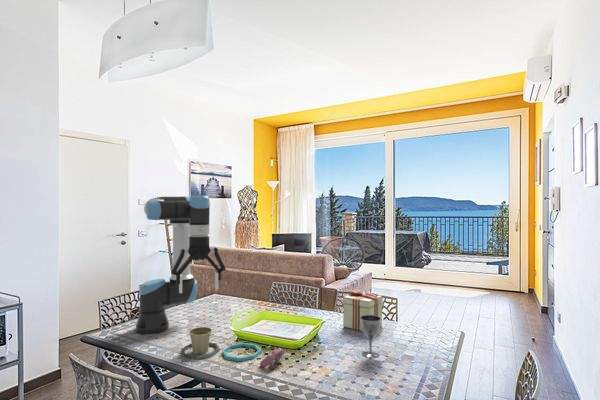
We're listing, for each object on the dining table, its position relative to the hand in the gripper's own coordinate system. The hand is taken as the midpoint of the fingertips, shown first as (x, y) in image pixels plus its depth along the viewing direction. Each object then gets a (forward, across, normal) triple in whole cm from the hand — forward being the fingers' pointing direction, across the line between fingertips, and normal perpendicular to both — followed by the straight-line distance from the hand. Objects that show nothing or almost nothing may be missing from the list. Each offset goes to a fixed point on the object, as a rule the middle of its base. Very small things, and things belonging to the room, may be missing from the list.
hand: (198, 290), depth 143 cm
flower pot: (+28, +3, +11) cm, 30 cm away
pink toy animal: (+28, +26, -13) cm, 40 cm away
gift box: (+28, +83, +8) cm, 88 cm away
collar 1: (+28, +3, +11) cm, 30 cm away
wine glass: (+28, +65, -23) cm, 74 cm away
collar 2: (+28, +18, +2) cm, 33 cm away
